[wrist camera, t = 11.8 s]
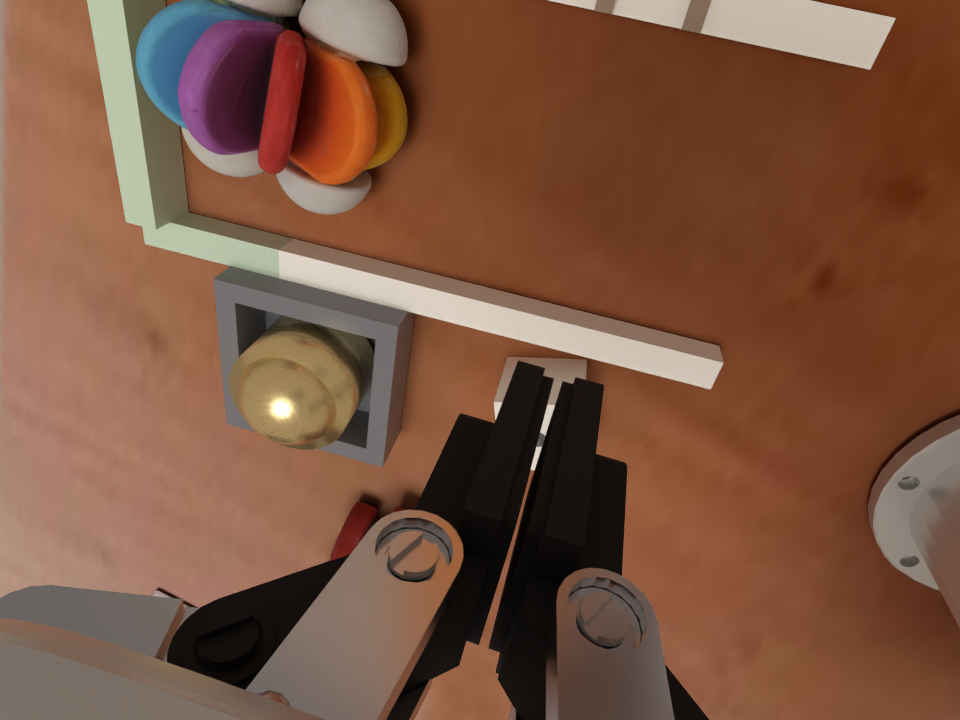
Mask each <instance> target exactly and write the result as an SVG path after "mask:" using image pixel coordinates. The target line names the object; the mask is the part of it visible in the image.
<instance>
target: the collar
mask: <svg viewBox="0 0 960 720" xmlns="http://www.w3.org/2000/svg"><path fill="white" fill-rule="evenodd" d="M213 281H214V291H215V302H216V313H217V324H218V334H219V345H220V356H221V367H222V377H223V388H224V399H225V410H226V420H227V424H229V425H233V426H236V427H240V428H244V429H247V430H251V431H254V432H256V431H255V430H253V428H252V427H251V426H250V425H249V424H248V423H247V421H246V420H245V419H244V418H243V417H242V415H241V414H240V413H239V411H238V409H237V408H236V406H235V404H234V402H233V400H232V397H231V394H230V390H229V374H230V370H231V368H232V366H233V364H234V362H235V361H236V360H237V359H238V358H239V357H240V356H241V355H242V354H243V353H244V352H245V351H246V350H247V349H248V348H249V347H250V346H251V345H252V344H253V343H254V342H255V341H256V340H257V339H258V338H259V337H260V336H261V335H262V334H263V333H264V332H265V331H266V330H267V329H268V328H269V327H270V326H271V325H272V324H273V323H274V322H275V321H276V320H277V319H278V318H279V317H280V316H282V315H284V316H287V317H291V318H295V319H299V320H303V321H306V322H310V323H314V324H318V325H322V326H326V327H329V328H333V329H337V330H341V331H345V332H349V333H352V334H356V335H360V336H364V337H365V338H366V339H367V340H368V342H369V344H370V346H371V348H372V350H373V352H374V365H373V377H372V386H371V387H370V389H369V391H368V392H367V394H366V395H365V397H364V399H363V400H362V402H361V404H360V405H359V407H358V408H357V410H356V412H355V413H354V415H353V417H352V418H351V420H350V421H349V423H348V425H347V426H346V428H345V430H344V431H343V433H342V434H341V436H340V437H339V438H338V439H337V440H336V441H334V442H333V443H331V444H330V445H328V446H325V447H322V448H318V449H319V450H323V451H327V452H330V453H334V454H337V455H341V456H345V457H348V458H352V459H356V460H359V461H363V462H366V463H370V464H374V465H377V466H381V467H383V465H384V463H385V461H386V459H387V457H388V455H389V453H390V451H391V449H392V447H393V445H394V443H395V441H396V439H397V437H398V435H399V433H400V427H401V419H402V412H403V404H404V396H405V388H406V380H407V373H408V365H409V357H410V349H411V341H412V333H413V326H414V318H415V313H412V312H408V311H404V310H400V309H396V308H392V307H388V306H384V305H380V304H377V303H373V302H369V301H365V300H361V299H357V298H353V297H349V296H345V295H342V294H338V293H334V292H330V291H326V290H322V289H318V288H314V287H310V286H307V285H303V284H299V283H295V282H291V281H287V280H283V279H279V278H275V277H272V276H268V275H264V274H260V273H256V272H252V271H248V270H244V269H240V268H237V267H233V266H230V267H229V268H228V269H226V270H225V271H223V272H222V273H221V274H219V275H218V276H217V277H215V278H214V279H213Z"/></svg>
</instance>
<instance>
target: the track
mask: <svg viewBox="0 0 960 720" xmlns="http://www.w3.org/2000/svg"><path fill="white" fill-rule="evenodd" d="M549 1H553V2H558V3H563V4H567V5H572V6H577V7H581V8H586V9H590V10H594V11H598V12H602V13H607V14H614V15H618V16H623V17H628V18H632V19H637V20H642V21H646V22H651V23H655V24H660V25H665V26H669V27H674V28H679V29H682V30H686V31H691V32H695V33H702V34H707V35H711V36H716V37H720V38H725V39H730V40H734V41H739V42H744V43H748V44H753V45H758V46H762V47H767V48H772V49H776V50H781V51H785V52H790V53H795V54H799V55H804V56H809V57H813V58H818V59H823V60H827V61H832V62H837V63H841V64H846V65H850V66H855V67H860V68H864V69H869V70H870V69H871V67H872V65H873V63H874V61H875V59H876V57H877V55H878V53H879V51H880V49H881V47H882V45H883V43H884V41H885V39H886V37H887V35H888V33H889V31H890V29H891V27H892V25H893V23H894V21H895V19H896V18H893V17H888V16H883V15H878V14H873V13H869V12H864V11H859V10H854V9H849V8H845V7H840V6H835V5H830V4H825V3H821V2H816V1H811V0H549ZM87 3H88V9H89V14H90V20H91V26H92V31H93V37H94V43H95V49H96V54H97V60H98V66H99V71H100V77H101V83H102V88H103V94H104V100H105V105H106V111H107V117H108V122H109V128H110V134H111V139H112V145H113V151H114V157H115V162H116V168H117V174H118V179H119V185H120V191H121V196H122V202H123V208H124V213H125V219H126V222H127V223H131V224H135V225H139V226H142V227H143V234H144V240H145V244H147V245H151V246H155V247H159V248H163V249H166V250H170V251H174V252H178V253H182V254H186V255H190V256H194V257H198V258H201V259H205V260H209V261H213V262H217V263H221V264H225V265H229V266H233V267H237V268H240V269H244V270H248V271H252V272H256V273H260V274H264V275H268V276H272V277H275V278H279V279H283V280H287V281H291V282H295V283H299V284H303V285H307V286H310V287H314V288H318V289H322V290H326V291H330V292H334V293H338V294H342V295H345V296H349V297H353V298H357V299H361V300H365V301H369V302H373V303H377V304H380V305H384V306H388V307H392V308H396V309H400V310H404V311H408V312H412V313H415V314H419V315H423V316H427V317H431V318H435V319H439V320H443V321H447V322H450V323H454V324H458V325H462V326H466V327H470V328H474V329H478V330H482V331H486V332H489V333H493V334H497V335H501V336H505V337H509V338H513V339H517V340H521V341H524V342H528V343H532V344H536V345H540V346H544V347H548V348H552V349H556V350H559V351H563V352H567V353H571V354H575V355H579V356H583V357H587V358H591V359H594V360H598V361H602V362H606V363H610V364H614V365H618V366H622V367H626V368H629V369H633V370H637V371H641V372H645V373H649V374H653V375H657V376H661V377H664V378H668V379H672V380H676V381H680V382H684V383H688V384H692V385H696V386H699V387H703V388H707V389H711V388H712V386H713V384H714V382H715V380H716V378H717V376H718V374H719V372H720V370H721V368H722V366H723V364H724V362H723V358H722V354H721V351H720V347H719V346H718V345H714V344H710V343H706V342H702V341H698V340H694V339H690V338H686V337H682V336H678V335H674V334H670V333H666V332H662V331H659V330H655V329H651V328H647V327H643V326H639V325H635V324H631V323H627V322H623V321H619V320H615V319H611V318H607V317H603V316H599V315H595V314H591V313H587V312H583V311H579V310H575V309H571V308H567V307H563V306H559V305H555V304H551V303H547V302H543V301H539V300H535V299H531V298H527V297H523V296H519V295H515V294H511V293H508V292H504V291H500V290H496V289H492V288H488V287H484V286H480V285H476V284H472V283H468V282H464V281H460V280H456V279H452V278H448V277H444V276H440V275H436V274H432V273H428V272H424V271H420V270H416V269H412V268H408V267H404V266H400V265H396V264H392V263H388V262H384V261H380V260H376V259H372V258H368V257H364V256H360V255H357V254H353V253H349V252H345V251H341V250H337V249H333V248H329V247H325V246H321V245H317V244H313V243H309V242H305V241H301V240H297V239H293V238H289V237H285V236H281V235H277V234H273V233H269V232H265V231H261V230H257V229H253V228H249V227H245V226H241V225H237V224H233V223H229V222H225V221H221V220H217V219H213V218H209V217H206V216H202V215H198V214H194V213H190V212H189V209H188V200H187V191H186V182H185V173H184V165H183V156H182V147H181V138H180V129H179V125H178V124H176V123H175V122H173V121H172V120H171V119H169V118H168V117H167V116H166V115H165V114H163V113H162V112H161V111H160V110H159V109H158V108H157V106H156V105H155V104H154V103H153V102H152V101H151V99H150V98H149V96H148V95H147V93H146V91H145V89H144V87H143V85H142V83H141V81H140V79H139V76H138V73H137V68H136V61H135V58H136V50H137V45H138V41H139V38H140V35H141V33H142V31H143V29H144V28H145V27H146V25H147V24H148V23H149V21H150V20H151V19H152V18H153V17H154V16H155V15H156V14H157V13H158V12H160V11H161V10H162V9H164V8H166V3H165V0H87Z"/></svg>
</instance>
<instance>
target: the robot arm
mask: <svg viewBox="0 0 960 720" xmlns="http://www.w3.org/2000/svg"><path fill="white" fill-rule="evenodd" d="M544 371H545V368H543V367H540V366H536V365H533V364H529V363H526V362H522V361H519V360H518V362H517V365H516V367H515V370H514V373H513V375H512V378H511V381H510V383H509V386H508V389H507V391H506V394H505V397H504V399H503V402H502V405H501V408H500V410H499V413H498V416H497V418H496V421H495V423H492V422H488V421H485V420H482V419H478V418H475V417H472V416H468V415H465V414H462V413H461V414H460V415H459V417H458V418H457V420H456V423H455V425H454V427H453V429H452V431H451V433H450V435H449V437H448V440H447V442H446V444H445V446H444V448H443V450H442V452H441V455H440V457H439V459H438V461H437V463H436V465H435V467H434V470H433V472H432V474H431V476H430V478H429V480H428V482H427V485H426V487H425V489H424V491H423V493H422V495H421V497H420V499H419V502H418V504H417V506H416V508H415V510H403V511H398V512H393V513H391V514H389V515H387V516H385V517H383V518H381V519H380V520H379V521H378V522H377V523H376V524H374V525H373V526H372V527H371V528H370V530H369V531H368V532H367V534H366V535H365V536H364V537H363V539H362V540H361V541H360V543H359V544H358V545H357V547H356V548H355V549H354V550H353V552H352V553H351V554H349V555H346V556H343V557H340V558H337V559H334V560H331V561H328V562H325V563H322V564H320V565H317V566H314V567H311V568H308V569H305V570H302V571H299V572H296V573H293V574H290V575H287V576H284V577H281V578H278V579H275V580H273V581H270V582H267V583H264V584H261V585H258V586H255V587H252V588H249V589H246V590H243V591H240V592H237V593H234V594H231V595H228V596H226V597H223V598H220V599H217V600H215V601H213V602H211V603H209V604H207V605H204V606H202V607H200V608H194V607H185V606H184V604H183V599H176V598H166V597H157V596H148V595H138V594H129V593H119V592H110V591H101V590H91V589H82V588H72V587H63V586H54V585H45V586H30V587H27V588H24V589H20V590H17V591H14V592H11V593H8V594H7V595H5V596H3V597H2V598H0V720H414V719H415V717H416V715H417V713H418V711H419V709H420V707H421V705H422V703H423V701H424V699H425V697H426V695H427V693H428V691H429V689H430V686H431V683H432V680H433V678H434V677H437V676H439V675H441V674H443V673H445V672H447V671H449V670H451V669H453V668H455V667H457V666H459V664H460V660H461V657H462V653H463V650H464V647H465V643H466V641H469V642H472V643H474V644H477V645H479V642H480V639H481V636H482V633H483V630H484V626H485V623H486V620H487V617H488V614H489V610H490V607H491V604H492V601H493V598H494V594H495V591H496V588H497V585H498V582H499V579H500V575H501V572H502V569H503V566H504V563H505V559H506V556H507V553H508V550H509V547H510V543H511V540H512V537H513V534H514V530H515V527H516V523H517V520H518V516H519V512H520V508H521V505H522V501H523V497H524V493H525V489H526V485H527V481H528V478H529V474H530V470H531V466H532V462H533V458H534V454H535V451H536V447H537V443H538V439H539V435H540V431H541V427H542V423H543V420H544V416H545V412H546V408H547V404H548V400H549V396H550V393H551V389H552V385H553V381H554V378H551V377H547V376H544V375H543V374H544ZM603 390H604V385H602V384H599V383H595V382H592V381H588V380H585V379H581V378H578V377H576V378H575V380H574V383H573V384H571V383H568V382H564V381H563V382H562V385H561V388H560V391H559V394H558V397H557V401H556V404H555V407H554V410H553V413H552V416H551V420H550V423H549V426H548V429H547V432H546V436H545V439H544V442H543V445H542V448H541V451H540V455H539V458H538V461H537V464H536V467H535V471H534V474H533V477H532V480H531V483H530V487H529V490H528V494H527V498H526V502H525V505H524V509H523V513H522V517H521V521H520V525H519V529H518V533H517V537H516V541H515V545H514V549H513V553H512V557H511V561H510V565H509V569H508V573H507V577H506V581H505V585H504V589H503V593H502V597H501V601H500V605H499V608H498V612H497V616H496V620H495V624H494V628H493V632H492V636H491V640H490V644H489V649H492V650H495V651H498V652H500V656H499V660H498V664H497V669H496V673H498V674H499V676H498V680H499V682H500V684H501V685H502V687H503V689H504V691H505V692H506V694H507V696H508V698H509V699H510V701H511V703H512V705H511V710H510V715H509V720H709V719H708V718H707V716H706V715H705V714H704V713H703V711H702V710H701V709H700V708H699V706H698V705H697V704H696V703H695V701H694V700H693V699H692V698H691V696H690V695H689V694H688V693H687V691H686V690H685V689H684V687H683V686H682V685H681V684H680V682H679V681H678V680H677V679H676V677H675V676H674V675H673V674H672V672H671V671H670V670H669V669H668V667H667V666H666V665H665V662H664V656H663V650H662V644H661V638H660V633H659V627H658V621H657V618H656V615H655V612H654V609H653V607H652V605H651V604H650V602H649V601H648V599H647V598H646V596H645V595H644V593H643V592H642V591H641V590H640V589H639V588H637V587H636V586H635V585H634V584H633V583H632V582H631V581H629V580H628V579H626V578H624V577H623V576H622V560H623V541H624V521H625V502H626V482H627V465H626V463H624V462H621V461H618V460H614V459H611V458H608V457H604V456H601V455H598V454H596V447H597V439H598V431H599V423H600V414H601V406H602V398H603ZM868 522H869V524H870V527H871V530H872V532H873V535H874V538H875V540H876V542H877V544H878V546H879V547H880V549H881V551H882V553H883V555H884V556H885V557H886V558H887V560H888V561H889V562H890V563H891V564H892V565H893V566H894V567H895V568H896V569H898V570H899V571H901V572H902V573H904V574H905V575H907V576H908V577H910V578H911V579H913V580H915V581H917V582H919V583H922V584H924V585H926V586H928V587H931V588H933V589H937V590H940V592H941V594H942V596H943V598H944V599H945V601H946V603H947V605H948V607H949V609H950V611H951V613H952V615H953V617H954V619H955V620H956V622H957V624H958V626H959V628H960V415H957V416H955V417H953V418H950V419H948V420H946V421H943V422H941V423H939V424H938V425H936V426H934V427H933V428H931V429H929V430H928V431H926V432H924V433H922V434H921V435H919V436H917V437H916V438H915V439H913V440H912V441H911V442H910V443H908V444H907V445H906V446H905V447H904V448H902V449H901V450H900V451H899V452H897V453H896V454H895V456H894V457H893V458H892V459H891V460H890V461H889V462H888V464H887V465H886V466H885V467H884V468H883V469H882V471H881V472H880V474H879V476H878V478H877V480H876V481H875V483H874V485H873V487H872V490H871V494H870V498H869V502H868Z"/></svg>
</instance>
